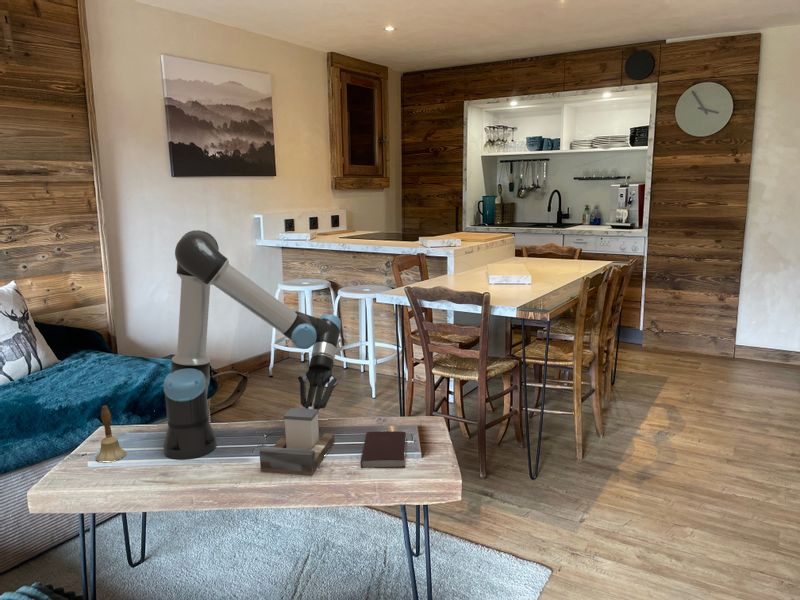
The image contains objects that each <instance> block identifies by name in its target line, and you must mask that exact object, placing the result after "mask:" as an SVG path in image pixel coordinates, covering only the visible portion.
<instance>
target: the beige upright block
mask: <svg viewBox="0 0 800 600" xmlns="http://www.w3.org/2000/svg"><path fill="white" fill-rule="evenodd" d="M283 420H284V428H285V429H284V430H285V433H286V448H290V449H303V450H312V449H313V447H314V446H315V445H316V444H317V443H318V441H319V439H320V433H319V431H320V430H319V411H318V409H306V408H305V407H301V408H300V407H291V408H290V409H289V410H288V411H287V412H286V413H285V414H284V415H283Z"/></svg>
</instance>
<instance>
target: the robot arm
mask: <svg viewBox="0 0 800 600" xmlns="http://www.w3.org/2000/svg"><path fill="white" fill-rule="evenodd" d="M219 250H220V249H219V243H218V241H217V239H216V238H215V237H214V235H212V234H211V233H209V232H208V231H205V230H199V229H198V230H197V229H195V230H191V231H187V232H186V233H184V235H182V236H181V238H180V239H179V240H178V242H177V243H176V246H175V250H174V257H175V261H176V274H177V276H178V277H179V278H180V279H181V280H180V281H181V282H180V299H179V302H180V303H179V316H178V334H177V335H178V337H177V351H176V354H175V355H174V356H172V357H171V365H170V366H171V367H170V372H169V374H167V375H166V377H165V378H164V380H163V393H164V398H165V407H166V409H165V410H166V420H167V430H166V435H165V439H164V443H163V450H164V451H163V452H164V455H165V456H166V457H168V458H171V459H175V460H188V459H194V458H195V459H196V458H198V457H202V456H204V455H205V456H206V455H207V454H209V453H211V452H213V450H215V449H216V447H217V445H218V442H217V435H216V434H215V432H214V430H213V428H212V425H211V423H210V421H209V409H208V408H209V407H208V392H209V391H208V390H209V385H210V381H211V374H210V370H211V369H210V367H211V366H210V365H211V358H210V357H209V356H208V355H207V353H206V351H207V340H208V337H207V336H208V325H209V310H210V309H209V307H210V294H211V293H210V291H211V286H214V287H215V288H218V290H219V291H222V292H223V293H224V294H226V295H227V296H228V297H229V298H231V299H233V300H234V301H235V302H237V304H240V305H241V306H243V307H244V308H246V309H247V310H248V311H250V312H251V313H252V314H253V315H255V316H257V317H258V318H260V319H261V320H263V321H264V322H265V323H266V324H268V325H270V327H272V328H274V329H275V330H277V331H278V332H280V333H281V334H282V335H284V336H285V337H286V338H287V339H289V340H290V341H291V343H293V345H295V347H296V348H298V349H302V350H306V349H310V348H311V347H312V346H313V347H312V350H311V357H310V359H309V360H310V361H309V365H308V370H307V372H306V373H305V374H304V375H303V376H300V375H299V376H298V377H297V378H298V381H299V387H300V389H299V390H300V391H299V394H300V405H301V406H302V408H306V409H318V411H319V410H320V409H323V410H324V409H325V408H326V407H327V404H328V403H329V400H330V398H331V396H332V394H333V391H334V389H335V388H336V387H337V385H338V384H339V381H338V379H337V378H336V377H333V374H332V373H333V368H334V364H335V362H334V361H335V358H336V353H337V348H338V347H337V346H338V343H339V339H340V338H339V337H340V334H341V328H342V327H341V326H342V321H341V319H340V318H339V317H338V316H336V315H335V314H329V313H323V314H322V315H321V316H319V317H315V316H314V315H313V316H312V315H309V314H307V313H304V312H301V311H298V310H294V309H291V308H289V307H288V306H287V305H285V304H284V303H283V302H281V301H280V300H279V299H277V298H276V297H275V296H273V295H272V294H270V293H269V292H268V291H266V290H265V289H264V288H262V287H261V286H260V285H259V284H257V283H256V282H254V281H253V280H252V279H250V278H249V277H247V276H246V275H245V274H243V273H242V272H241V271H239V270H238V269H236V268H235V267H233V265H231V264H230V261H229V258H227V257H226V256H225V255H223V254H222V253H221V252H220V251H219ZM307 380H308V381H307ZM307 382H308V383H309V388H308V394H307V385H306V384H307ZM326 385H327V386H326ZM325 386H326V389H325Z"/></svg>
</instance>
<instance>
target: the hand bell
mask: <svg viewBox="0 0 800 600" xmlns="http://www.w3.org/2000/svg"><path fill="white" fill-rule="evenodd" d="M100 418H101V422H102V424H103V426H104V433H105V438H102V439H101V440H100V450H99V452H98V454H97V455H96V456H95V461H96V460H98V461H114V460H117V459H120V458H122V457H124V456H125V455H126V456H127V451H126V450H125V449H123V448H122V447H121V446H120V443H119V439H118V437H116V436H113V433H112V428H111V423H112V414H111V411H110V409H109V407H108V405H102V407H101V413H100ZM126 456H125V457H126ZM125 457H124V458H125ZM122 459H123V458H122ZM120 460H121V459H120ZM114 462H115V461H114Z"/></svg>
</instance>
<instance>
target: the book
mask: <svg viewBox="0 0 800 600" xmlns="http://www.w3.org/2000/svg"><path fill="white" fill-rule="evenodd" d="M406 435H407V433H406V431H399V430H398V431H394V430H393V431H390V430H389V431H386V430H384V431H367V432H366V433H365V437H364V442H363V447H362V453H361V457H360V467H361V468H362V469H364V468H373V469H404V468H406V455H405V456H404V452H405V453H406V444H405V438H406Z"/></svg>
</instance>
